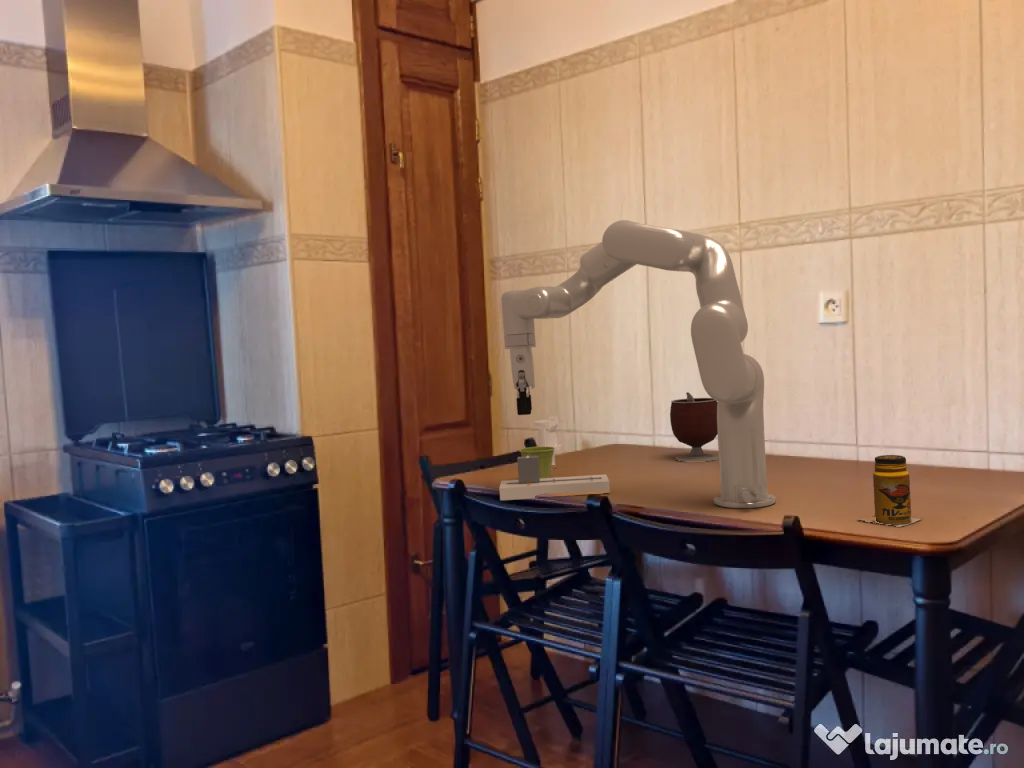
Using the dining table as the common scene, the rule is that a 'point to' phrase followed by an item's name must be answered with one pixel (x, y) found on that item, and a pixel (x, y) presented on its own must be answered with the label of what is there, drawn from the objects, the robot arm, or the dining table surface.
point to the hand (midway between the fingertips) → (524, 412)
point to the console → (552, 486)
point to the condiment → (892, 491)
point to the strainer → (548, 434)
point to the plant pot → (541, 458)
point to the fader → (528, 469)
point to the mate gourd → (694, 425)
